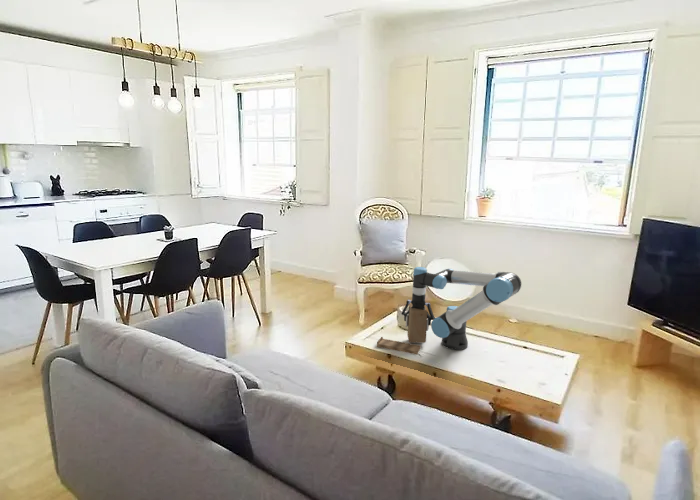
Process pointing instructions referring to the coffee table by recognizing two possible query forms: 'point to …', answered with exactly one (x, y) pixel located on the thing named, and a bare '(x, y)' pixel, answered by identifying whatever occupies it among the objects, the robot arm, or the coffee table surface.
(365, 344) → the coffee table surface
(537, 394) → the coffee table surface
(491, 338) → the coffee table surface
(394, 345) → the plank
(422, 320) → the wooden block
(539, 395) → the coffee table surface
